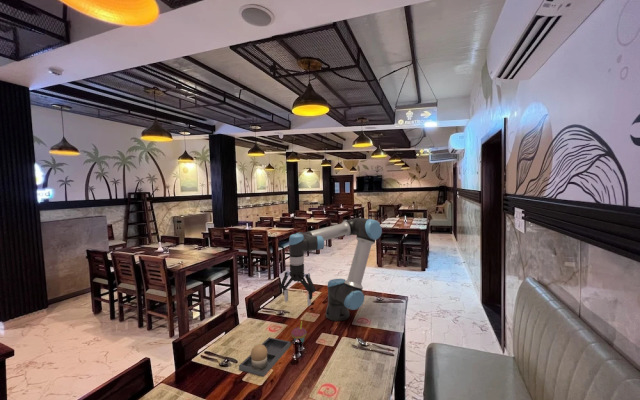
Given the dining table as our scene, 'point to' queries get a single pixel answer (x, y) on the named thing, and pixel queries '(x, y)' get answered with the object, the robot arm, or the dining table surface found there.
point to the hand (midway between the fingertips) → (297, 303)
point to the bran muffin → (259, 356)
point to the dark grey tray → (274, 354)
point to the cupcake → (299, 333)
